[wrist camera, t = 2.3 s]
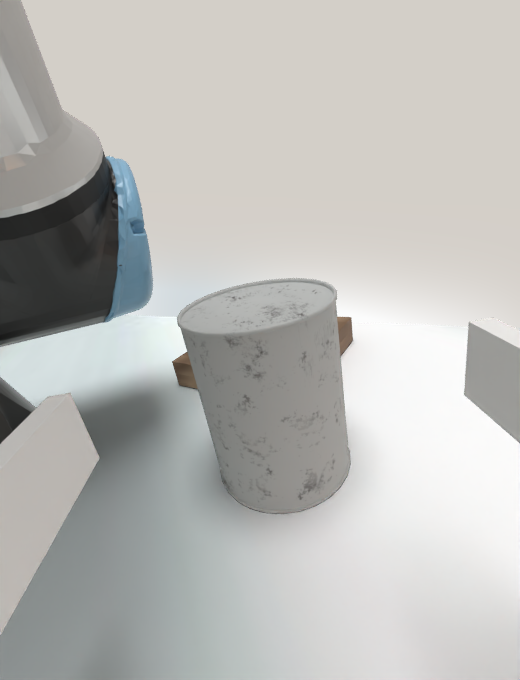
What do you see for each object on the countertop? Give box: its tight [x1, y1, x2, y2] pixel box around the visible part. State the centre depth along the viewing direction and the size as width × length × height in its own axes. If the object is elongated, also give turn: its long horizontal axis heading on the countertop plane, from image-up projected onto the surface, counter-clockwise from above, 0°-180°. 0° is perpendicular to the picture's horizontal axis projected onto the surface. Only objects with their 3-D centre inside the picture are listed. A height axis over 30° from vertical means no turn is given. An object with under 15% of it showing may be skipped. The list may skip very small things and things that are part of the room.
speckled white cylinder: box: [177, 278, 350, 514], centre depth 23 cm, size 10×10×12 cm
